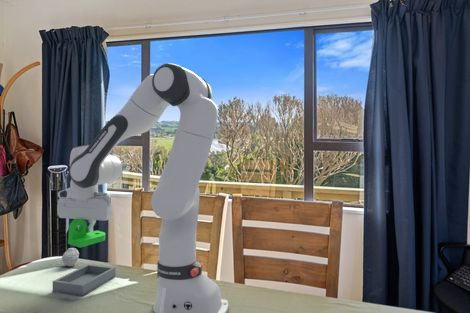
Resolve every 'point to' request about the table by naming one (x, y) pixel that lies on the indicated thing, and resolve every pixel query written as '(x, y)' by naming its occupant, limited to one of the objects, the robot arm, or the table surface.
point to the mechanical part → (83, 234)
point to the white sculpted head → (70, 257)
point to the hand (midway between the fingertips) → (85, 231)
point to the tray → (83, 280)
